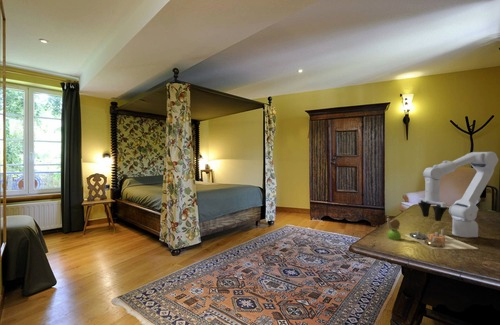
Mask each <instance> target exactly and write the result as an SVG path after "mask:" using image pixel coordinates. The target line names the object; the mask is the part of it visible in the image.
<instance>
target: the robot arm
mask: <svg viewBox="0 0 500 325" xmlns="http://www.w3.org/2000/svg"><path fill="white" fill-rule="evenodd" d="M498 162H499V158H498V155H497V153H496V152H494V151H472V152H471V151H470V153H469V152H468V153H466V154H465V155H463V156H460V157H459V158H456V159H455V160H452V161H450V160H443V161H442V162H441V163H439V164H434V165H433V166H432V167H426V168H425V169H424V171H422V176H423V177H424V181H425V182H424V183H425V185H424V186H425V188H424V191H425V192H424V197H419V201H418V206H419V207H420V210H421V212H422V213H421V214H422V216H423V217H424V218H428V217H429V214H430V208H431V205H432V210H433V212H434V220H435V221H436V222H441V221H442V218H443V215H444V213H445V212H446V210H448V213H449V215H450V216H451V218H452V228H451V230H452V231H451V234H452V235H453V236H456V237H462V238H478V237H479V224H478V222H476V218H477V216H478V211H479V207H478V206H477V205H476V204H477V202H478V200H479V198H480V197H481V195H482V193H483V191H484V190H485V188H486V187H487V185H488V183H489V181H490V180H491V178H492V176H493V175H494V171H495V168H496V166H497V164H498ZM468 164H470V166H471V167H472V168H473V169H474V170H475V171H476V173H475V175H474V176H473V178H472V180H471V182H470V183H469V185H468V187H467V188H466V190H465V192H464V193H463V195H462V197H461V198H460V199H457V200H455V201H454V203H453V204H452V205H450V206H449V209H448V207H447V203H446V202H444V201H441V200H440V197H441V190H440V188H441V179H443V177H444V176H446V175H448V174H450V173H451V174H452V173H454V172H456V169H457V168H458V167H462V166H465V165H468Z"/></svg>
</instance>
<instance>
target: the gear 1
mask: <svg viewBox="0 0 500 325" xmlns="http://www.w3.org/2000/svg"><path fill="white" fill-rule="evenodd" d="M409 235H410V236H411V237H412V238H415V239H420V240H426V239H428V236H426V235H427V234H423V233H421V232H420V235H417V232H410V233H409ZM412 238H411V239H412Z"/></svg>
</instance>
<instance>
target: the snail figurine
mask: <svg viewBox="0 0 500 325" xmlns="http://www.w3.org/2000/svg"><path fill="white" fill-rule="evenodd" d="M389 217H390V216H389V215H386V222H387V227H388V228H389V229H390V230H388V231H387V238H388V239H390V240H393V241H399V240H401V237H402V236H401V233H400V231H399V229H400V225H401V223H400V221H399V220H398V219H395V218H394V219H392V220H391V219H390V218H389Z"/></svg>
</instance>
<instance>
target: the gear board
mask: <svg viewBox="0 0 500 325" xmlns="http://www.w3.org/2000/svg"><path fill="white" fill-rule="evenodd" d="M445 230H446V229H444V228H443V229H442V228H440V231H439V232H438V231H435V232H434V234H435V236H437V237H439V235H443V236H444V237H445V247H444V248H442V247H439V248H437V247H432V246H430V245H426V243H424V240H420V239H415V238H412V237H411V236H410V234H404V236H406V237H408V238H409V239H412V240H414V241H415V242H418V243H419V244H422V245H423V246H426V247H427V248H430V249H432V250H458V249H460V250H464V249H465V250H467V249H469V250H473V249H475V250H478V249H479V248H478V247H475V246H473V245H470V244H468V243H465V242H462V241H460V240H458V239H457V238H456V239H455V238H453V237H450V236H448V235H446V234H445V233H446V231H445ZM416 233H417V235H420V233H421V230H417V231H416ZM425 235H426V236H428V239H427V240H429V234H425ZM436 239H437V238H434V237H433V238H432V241H434V243H436Z"/></svg>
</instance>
